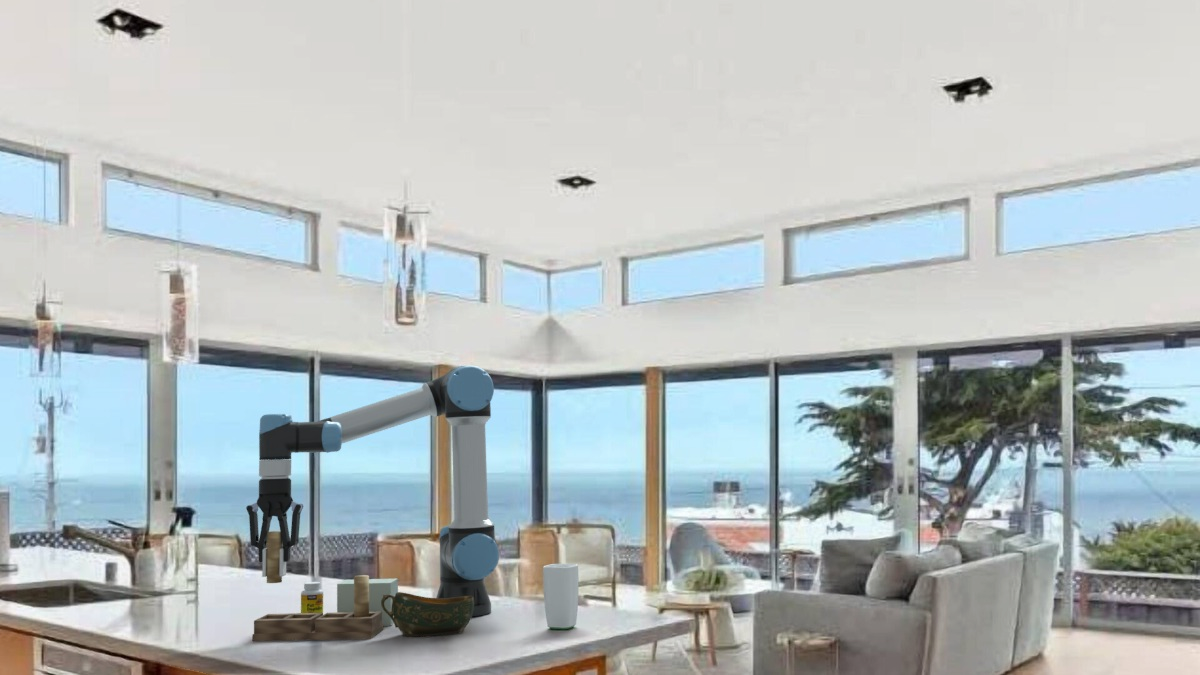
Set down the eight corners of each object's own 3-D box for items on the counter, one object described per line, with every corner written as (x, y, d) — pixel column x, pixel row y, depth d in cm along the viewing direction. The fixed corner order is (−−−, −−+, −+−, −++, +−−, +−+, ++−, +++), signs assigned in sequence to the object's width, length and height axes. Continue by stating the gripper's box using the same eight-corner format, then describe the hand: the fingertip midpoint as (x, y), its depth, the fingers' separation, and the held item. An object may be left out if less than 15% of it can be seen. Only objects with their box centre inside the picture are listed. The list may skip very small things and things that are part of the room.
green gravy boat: (399, 628, 265) (399, 586, 266) (477, 630, 261) (477, 587, 262) (378, 638, 253) (378, 594, 254) (460, 640, 249) (459, 595, 250)
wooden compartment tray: (382, 629, 264) (382, 572, 266) (371, 638, 252) (371, 578, 254) (269, 632, 265) (269, 575, 266) (252, 641, 253) (252, 581, 254)
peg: (283, 581, 262) (284, 531, 263) (279, 583, 258) (279, 532, 259) (269, 581, 262) (269, 531, 263) (264, 583, 258) (265, 532, 259)
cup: (581, 626, 262) (580, 564, 263) (569, 631, 255) (567, 567, 257) (554, 624, 265) (553, 563, 266) (541, 630, 258) (540, 566, 260)
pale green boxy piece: (398, 619, 278) (397, 578, 279) (390, 625, 270) (390, 582, 271) (346, 621, 279) (346, 579, 280) (337, 626, 270) (337, 584, 271)
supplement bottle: (304, 625, 273) (304, 584, 274) (297, 623, 277) (297, 582, 278) (326, 623, 276) (326, 582, 277) (319, 620, 280) (319, 580, 281)
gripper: (313, 476, 266) (312, 573, 264) (246, 477, 266) (245, 574, 264) (304, 477, 258) (303, 577, 256) (235, 478, 259) (234, 578, 257)
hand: (274, 575), depth 260 cm, fingers closed on peg, 3 cm apart
